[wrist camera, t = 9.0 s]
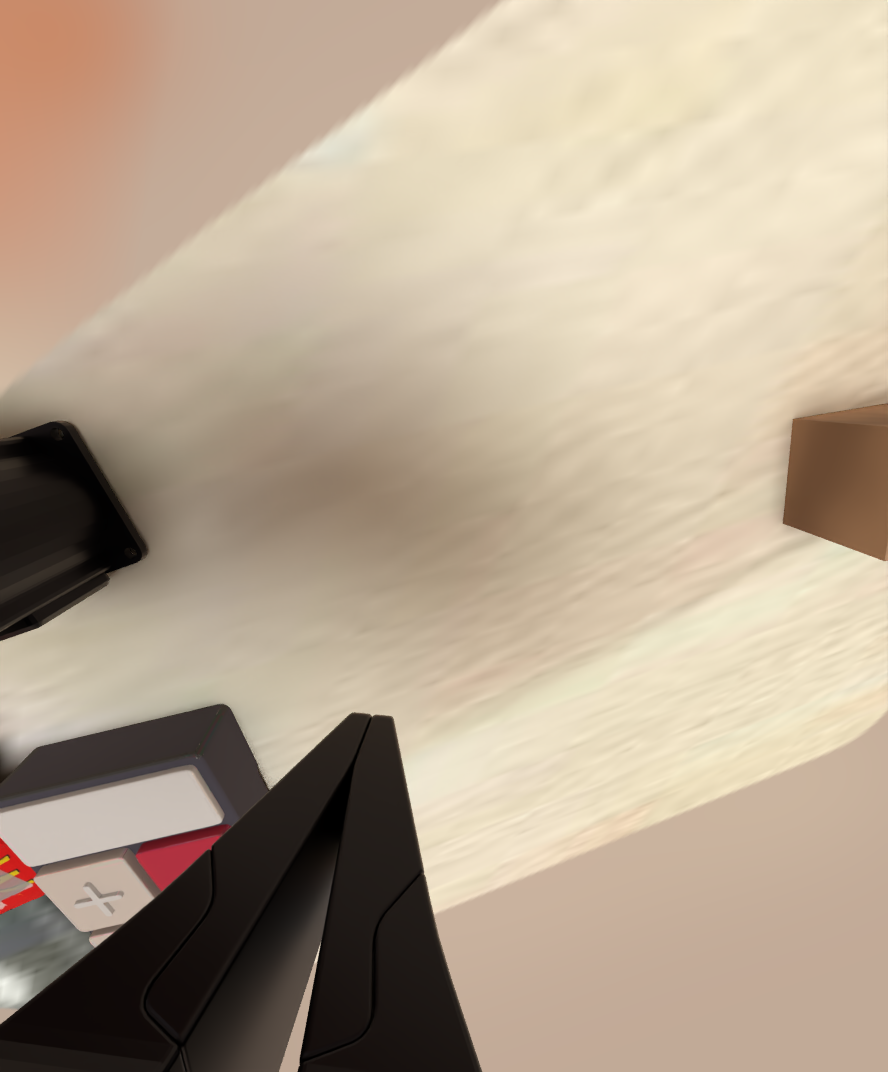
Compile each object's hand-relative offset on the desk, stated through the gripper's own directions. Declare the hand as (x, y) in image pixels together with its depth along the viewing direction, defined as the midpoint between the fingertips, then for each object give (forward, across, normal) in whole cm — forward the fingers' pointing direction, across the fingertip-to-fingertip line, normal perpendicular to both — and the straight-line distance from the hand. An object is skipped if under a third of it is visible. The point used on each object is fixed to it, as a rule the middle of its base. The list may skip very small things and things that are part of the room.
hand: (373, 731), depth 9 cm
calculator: (+11, +13, +19) cm, 26 cm away
